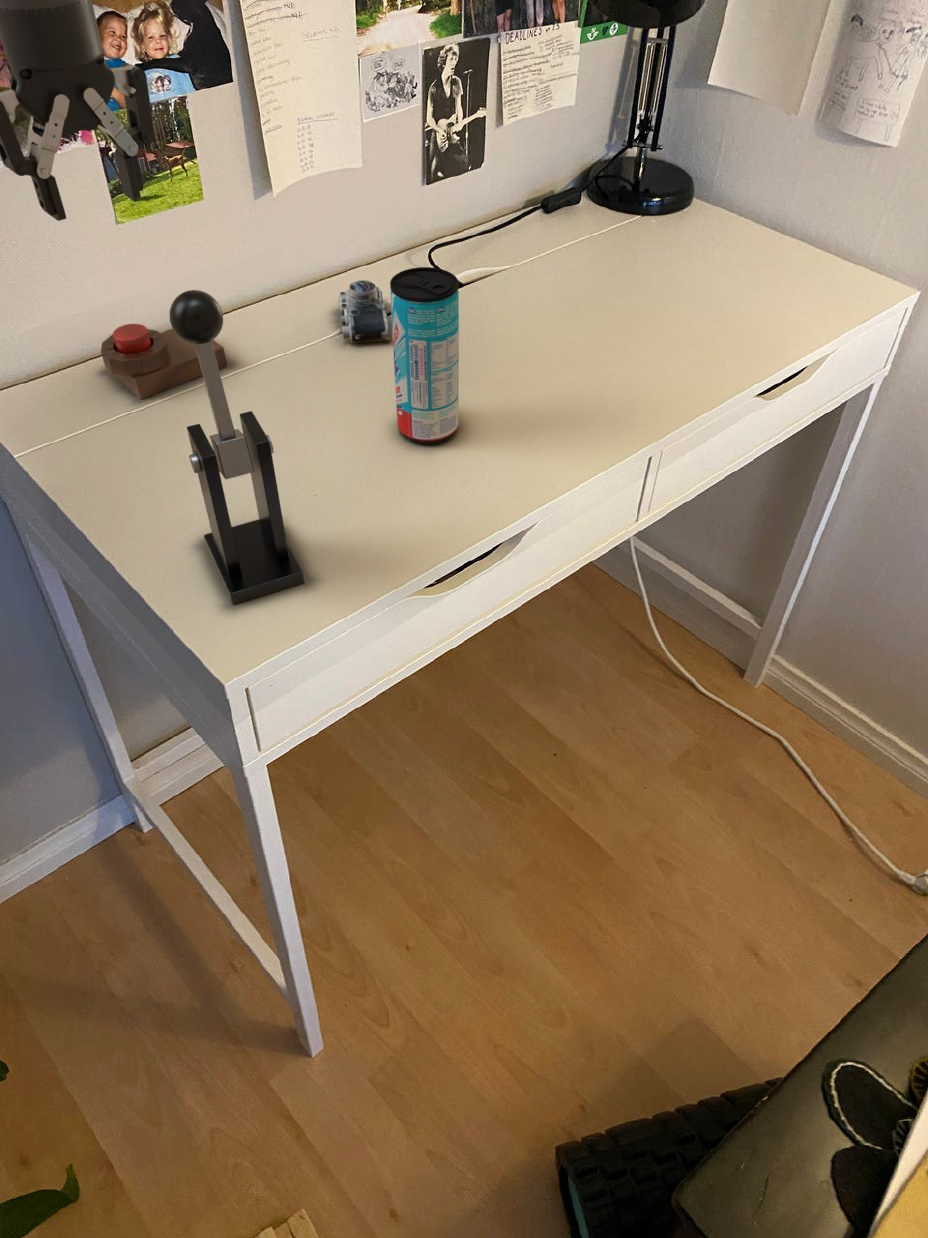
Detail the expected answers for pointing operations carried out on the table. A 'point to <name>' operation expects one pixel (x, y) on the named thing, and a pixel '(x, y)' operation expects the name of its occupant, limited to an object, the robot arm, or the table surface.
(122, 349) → the button
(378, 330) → the camera
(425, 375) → the beverage can
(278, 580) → the bracket
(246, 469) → the lever
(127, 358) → the button block
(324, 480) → the table surface
